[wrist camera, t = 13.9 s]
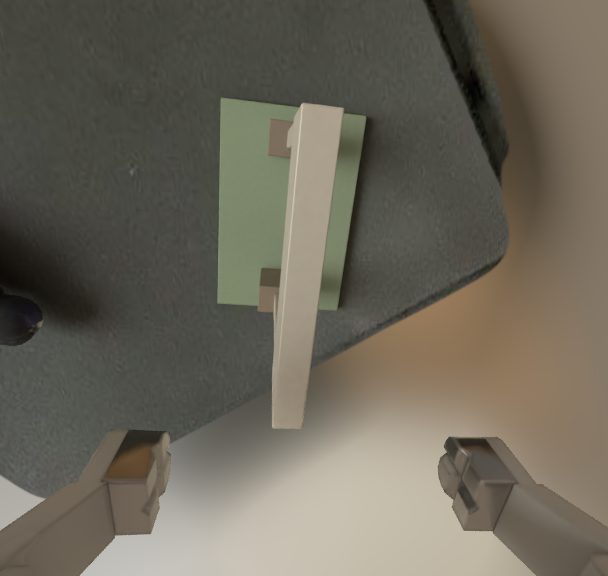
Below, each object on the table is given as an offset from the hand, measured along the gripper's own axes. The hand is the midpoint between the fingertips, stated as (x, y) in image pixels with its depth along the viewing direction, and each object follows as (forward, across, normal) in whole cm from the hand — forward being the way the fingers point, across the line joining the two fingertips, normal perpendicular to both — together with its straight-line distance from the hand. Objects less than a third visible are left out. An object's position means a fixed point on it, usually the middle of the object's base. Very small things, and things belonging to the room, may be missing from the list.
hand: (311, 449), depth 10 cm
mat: (+19, 0, -4) cm, 20 cm away
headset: (+19, +1, -4) cm, 19 cm away
